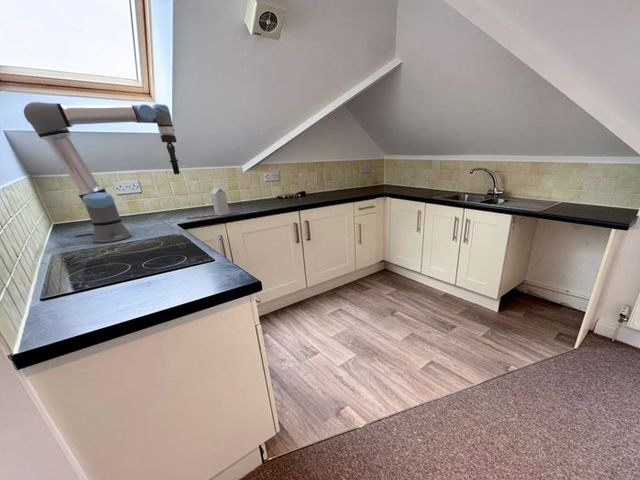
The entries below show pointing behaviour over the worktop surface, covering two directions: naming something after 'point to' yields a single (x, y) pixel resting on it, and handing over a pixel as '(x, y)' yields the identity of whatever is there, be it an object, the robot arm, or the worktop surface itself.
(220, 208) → the milk carton
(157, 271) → the worktop surface
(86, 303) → the worktop surface
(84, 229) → the worktop surface
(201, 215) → the wooden spoon
